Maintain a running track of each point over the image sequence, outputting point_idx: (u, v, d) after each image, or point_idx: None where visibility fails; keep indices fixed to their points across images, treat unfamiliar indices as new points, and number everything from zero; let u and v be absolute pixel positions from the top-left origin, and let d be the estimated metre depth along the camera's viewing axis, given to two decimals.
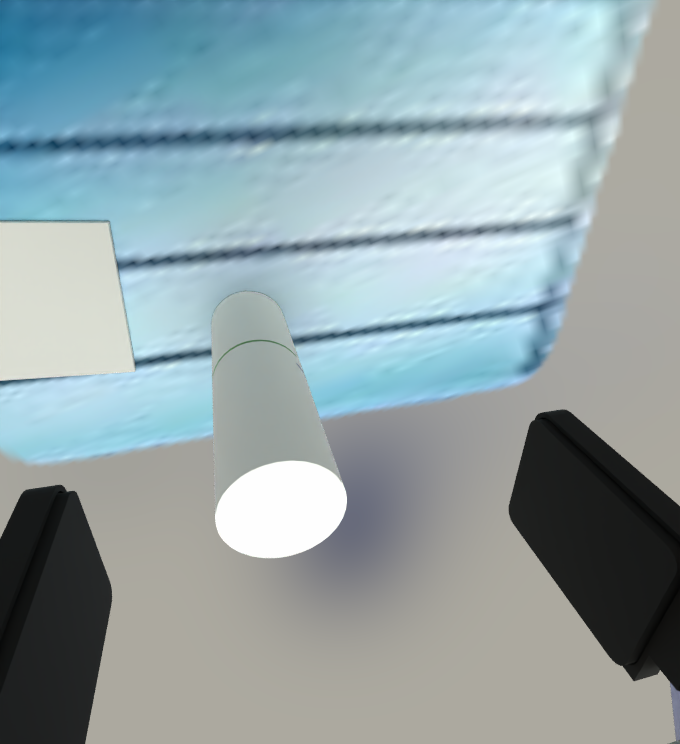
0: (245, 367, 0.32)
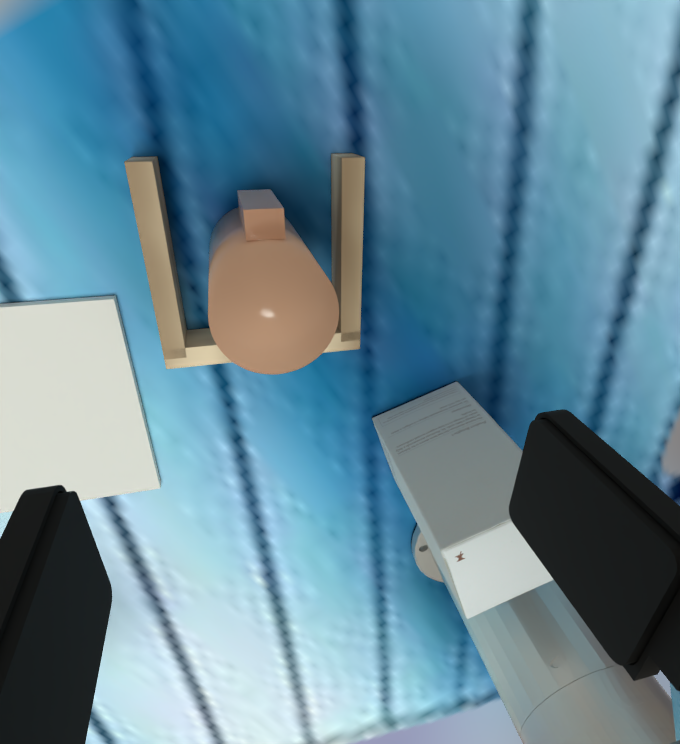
0: None
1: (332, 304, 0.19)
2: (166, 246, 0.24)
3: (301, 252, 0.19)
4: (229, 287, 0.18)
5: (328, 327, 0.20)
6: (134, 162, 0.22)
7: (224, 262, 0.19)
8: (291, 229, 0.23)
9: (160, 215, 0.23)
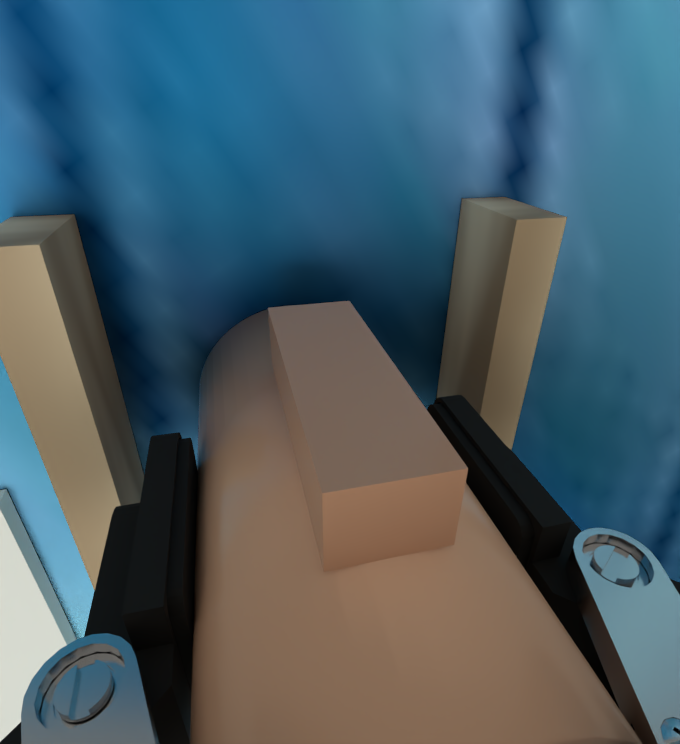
0: None
1: None
2: (96, 430, 0.10)
3: (532, 631, 0.05)
4: None
5: None
6: None
7: (247, 678, 0.05)
8: None
9: (75, 369, 0.09)
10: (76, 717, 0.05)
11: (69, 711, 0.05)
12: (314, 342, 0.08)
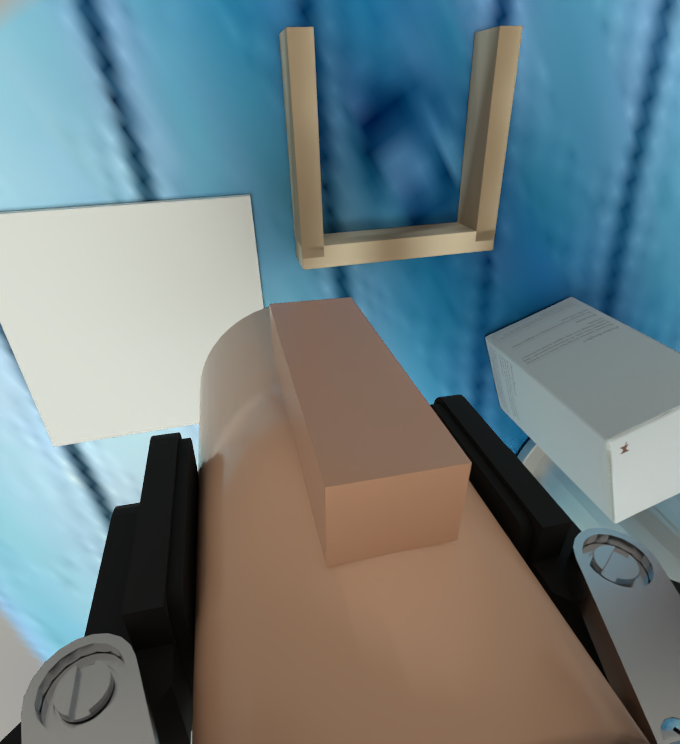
0: None
1: None
2: (317, 127, 0.23)
3: (536, 626, 0.05)
4: None
5: None
6: (295, 28, 0.21)
7: (250, 673, 0.05)
8: None
9: (315, 91, 0.22)
10: (76, 717, 0.05)
11: (69, 711, 0.05)
12: (316, 338, 0.08)
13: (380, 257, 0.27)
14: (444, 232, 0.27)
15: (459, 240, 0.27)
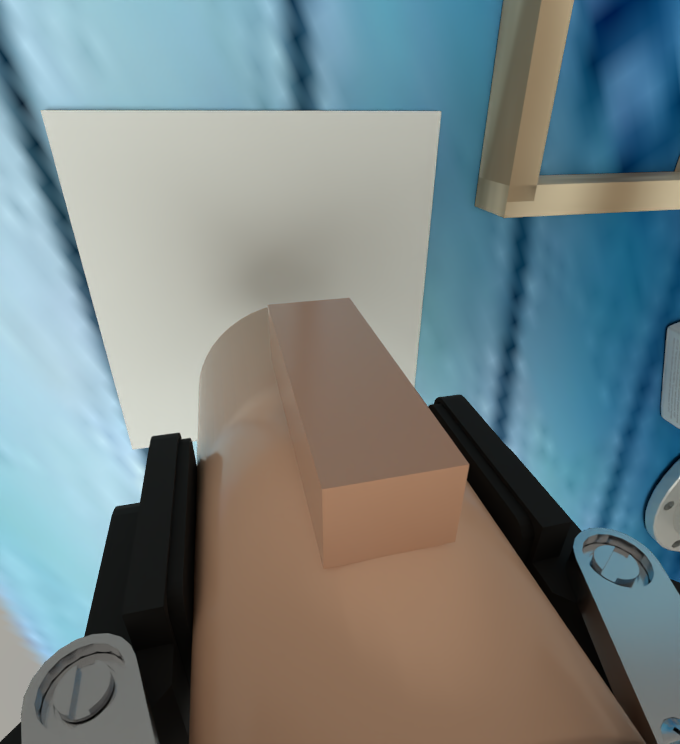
0: None
1: None
2: (571, 3, 0.16)
3: (534, 629, 0.05)
4: None
5: None
6: None
7: (246, 675, 0.05)
8: None
9: None
10: (76, 717, 0.05)
11: (69, 711, 0.05)
12: (314, 339, 0.08)
13: (600, 206, 0.20)
14: None
15: None
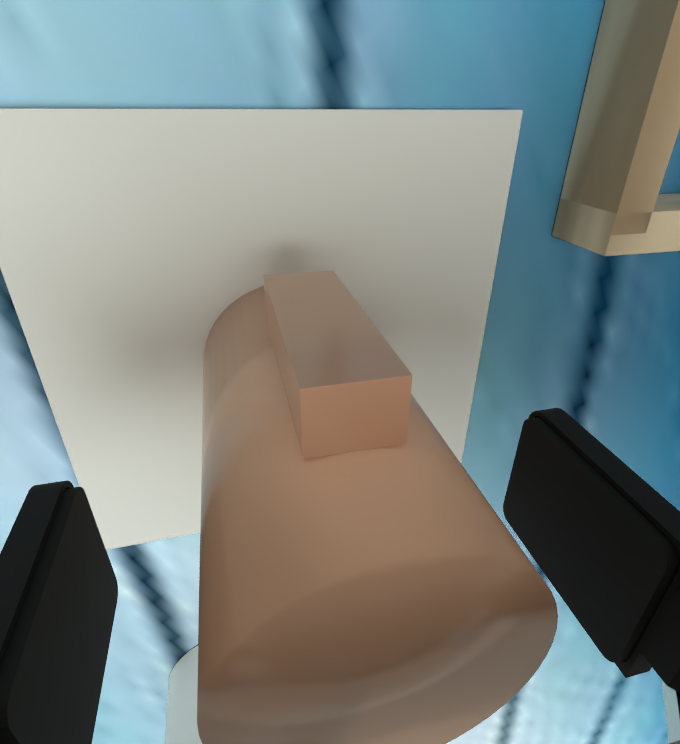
0: None
1: (541, 632, 0.07)
2: None
3: (462, 500, 0.07)
4: (263, 657, 0.06)
5: (517, 673, 0.07)
6: None
7: (244, 533, 0.07)
8: None
9: None
10: None
11: None
12: (300, 298, 0.09)
13: None
14: None
15: None
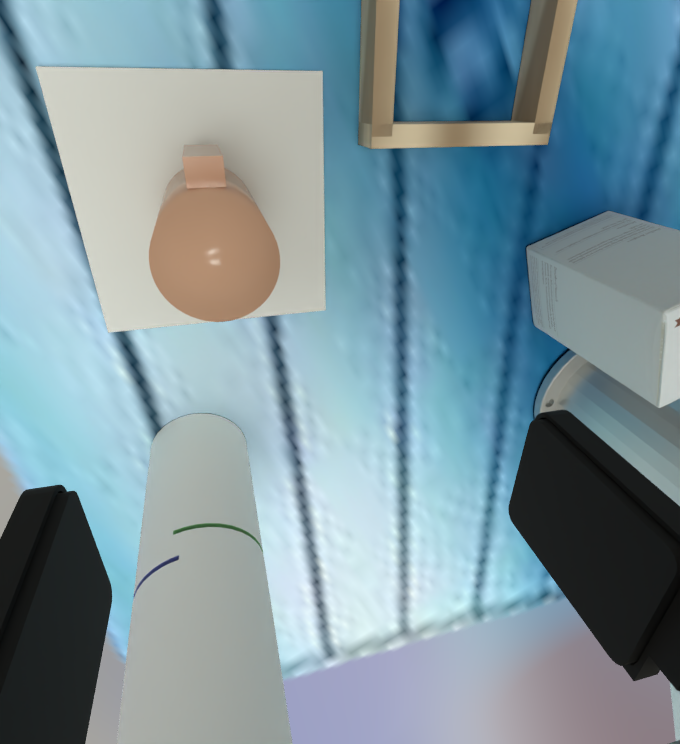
0: (267, 602, 0.25)
1: (273, 250, 0.20)
2: None
3: (241, 199, 0.19)
4: (168, 231, 0.18)
5: (270, 274, 0.20)
6: None
7: (165, 209, 0.19)
8: (239, 184, 0.24)
9: None
10: None
11: None
12: (196, 148, 0.22)
13: (443, 142, 0.27)
14: (504, 122, 0.28)
15: (518, 130, 0.28)
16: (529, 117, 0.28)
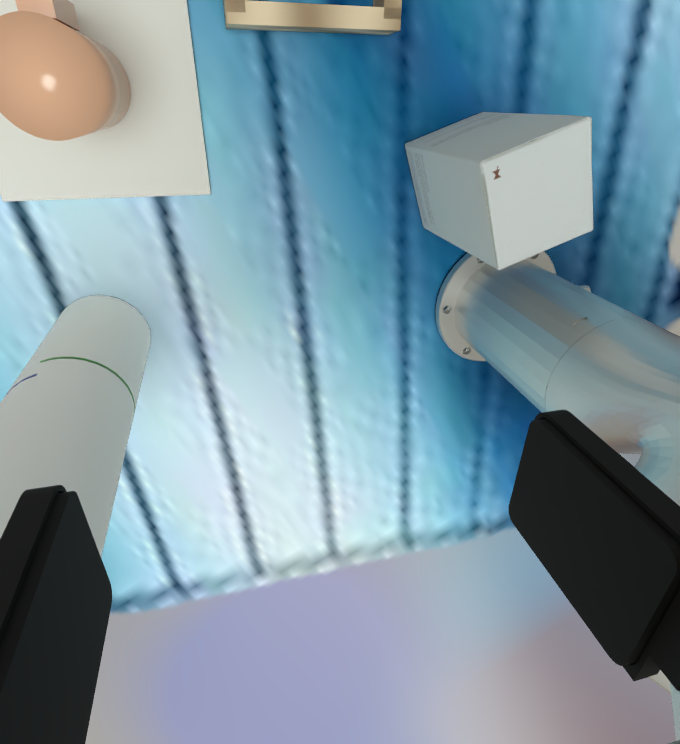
0: (117, 418, 0.27)
1: (93, 71, 0.23)
2: None
3: (64, 24, 0.22)
4: None
5: (95, 96, 0.23)
6: None
7: None
8: (94, 41, 0.27)
9: None
10: None
11: None
12: None
13: (297, 21, 0.30)
14: (356, 6, 0.31)
15: (369, 14, 0.31)
16: (381, 4, 0.31)
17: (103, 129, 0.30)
